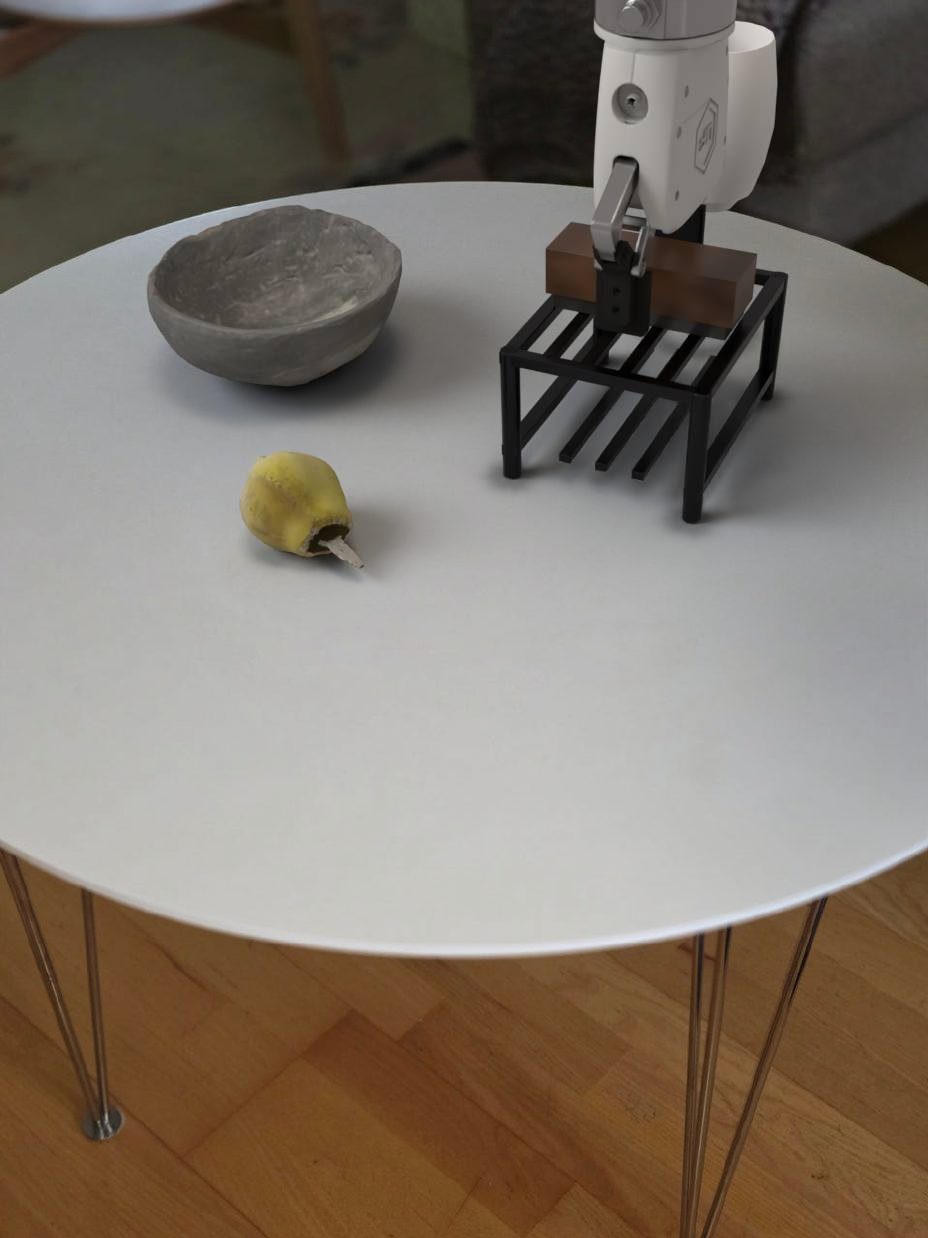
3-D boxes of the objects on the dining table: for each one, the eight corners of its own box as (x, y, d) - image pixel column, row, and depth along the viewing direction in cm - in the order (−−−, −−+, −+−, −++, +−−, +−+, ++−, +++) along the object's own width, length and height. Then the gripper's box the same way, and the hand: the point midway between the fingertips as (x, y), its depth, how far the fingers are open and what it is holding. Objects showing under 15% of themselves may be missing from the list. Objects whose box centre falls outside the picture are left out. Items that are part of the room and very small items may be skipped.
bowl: (201, 454, 91) (180, 347, 85) (137, 337, 103) (115, 238, 98) (449, 387, 96) (443, 282, 91) (359, 283, 108) (349, 185, 103)
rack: (775, 394, 93) (790, 272, 87) (697, 525, 83) (708, 397, 77) (595, 356, 98) (598, 239, 92) (499, 476, 87) (496, 352, 81)
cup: (665, 356, 98) (684, 59, 84) (642, 308, 103) (657, 22, 90) (764, 346, 98) (799, 50, 85) (736, 299, 104) (764, 13, 90)
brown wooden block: (751, 313, 84) (757, 253, 81) (730, 344, 81) (736, 282, 78) (570, 279, 88) (571, 221, 85) (545, 307, 85) (545, 247, 83)
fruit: (324, 607, 78) (206, 523, 82) (392, 579, 83) (277, 500, 87) (345, 521, 75) (222, 439, 79) (414, 497, 80) (294, 420, 84)
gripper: (677, 60, 65) (658, 375, 77) (781, -41, 77) (752, 246, 88) (533, 43, 68) (536, 350, 79) (655, -52, 80) (642, 227, 91)
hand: (650, 294), depth 84 cm, fingers open, 9 cm apart
